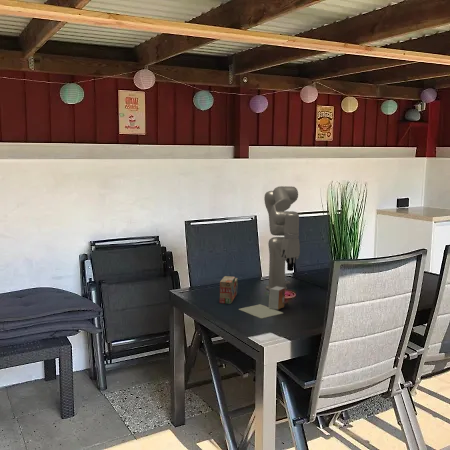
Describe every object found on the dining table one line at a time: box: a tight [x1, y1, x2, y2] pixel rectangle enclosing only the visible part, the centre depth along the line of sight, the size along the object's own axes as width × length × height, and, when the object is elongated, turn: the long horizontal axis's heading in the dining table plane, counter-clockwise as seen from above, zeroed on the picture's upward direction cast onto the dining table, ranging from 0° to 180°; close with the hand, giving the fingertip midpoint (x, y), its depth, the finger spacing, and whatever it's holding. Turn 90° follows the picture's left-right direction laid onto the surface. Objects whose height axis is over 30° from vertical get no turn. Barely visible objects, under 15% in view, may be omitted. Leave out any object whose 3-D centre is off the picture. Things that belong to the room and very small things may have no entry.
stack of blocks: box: [219, 275, 239, 305], centre depth 281 cm, size 21×6×12 cm, turn 168°
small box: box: [268, 286, 286, 311], centre depth 265 cm, size 8×6×10 cm
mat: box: [238, 303, 284, 320], centre depth 259 cm, size 15×18×1 cm
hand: (290, 270), depth 268 cm, fingers closed
